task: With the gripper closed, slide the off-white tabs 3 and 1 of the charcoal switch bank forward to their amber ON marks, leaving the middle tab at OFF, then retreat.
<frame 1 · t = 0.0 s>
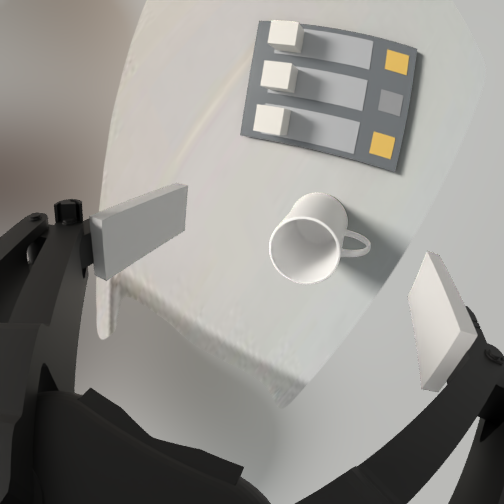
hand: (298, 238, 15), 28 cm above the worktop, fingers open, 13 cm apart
tab 3: (272, 119, 36), point 3 cm above the worktop, slide at 0.0 cm
switch bank: (328, 88, 35), on the worktop
mug: (329, 223, 43), on the worktop
tab 2: (280, 77, 34), point 3 cm above the worktop, slide at 0.0 cm
tab 1: (286, 36, 31), point 3 cm above the worktop, slide at 0.0 cm
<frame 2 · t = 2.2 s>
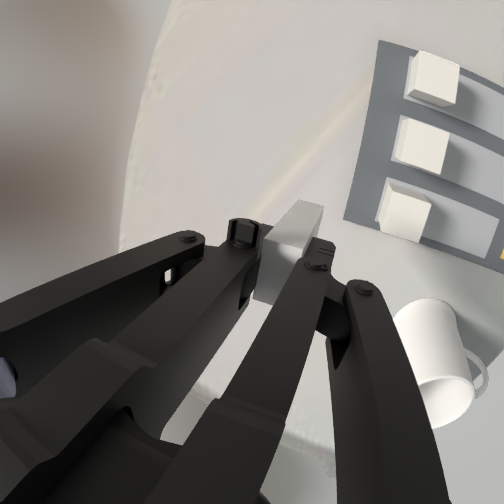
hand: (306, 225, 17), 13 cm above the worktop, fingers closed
tab 3: (403, 211, 23), point 3 cm above the worktop, slide at 0.0 cm
switch bank: (467, 164, 22), on the worktop
mug: (434, 330, 30), on the worktop
tab 2: (420, 145, 21), point 3 cm above the worktop, slide at 0.0 cm
tab 1: (432, 80, 18), point 3 cm above the worktop, slide at 0.0 cm
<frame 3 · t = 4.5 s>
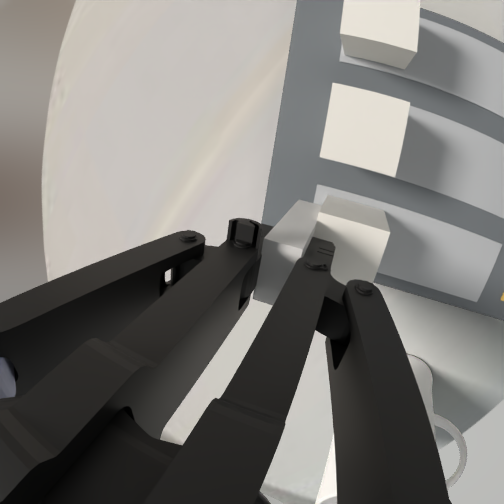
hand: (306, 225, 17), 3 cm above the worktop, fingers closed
tab 3: (347, 241, 16), point 3 cm above the worktop, slide at 0.5 cm, touching gripper
switch bank: (452, 159, 15), on the worktop
mug: (402, 388, 22), on the worktop
tab 2: (364, 129, 13), point 3 cm above the worktop, slide at 0.0 cm
tab 1: (379, 24, 11), point 3 cm above the worktop, slide at 0.0 cm
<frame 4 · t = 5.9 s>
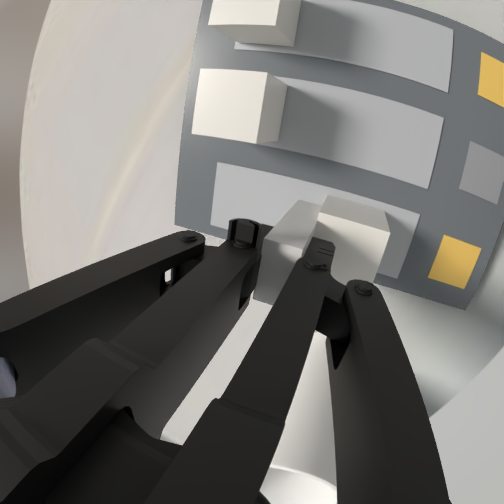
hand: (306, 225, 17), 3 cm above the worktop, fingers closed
tab 3: (347, 241, 16), point 3 cm above the worktop, slide at 7.0 cm, touching gripper
switch bank: (355, 128, 16), on the worktop
mug: (335, 372, 24), on the worktop
tab 2: (242, 106, 15), point 3 cm above the worktop, slide at 0.0 cm
tab 1: (258, 8, 12), point 3 cm above the worktop, slide at 0.0 cm
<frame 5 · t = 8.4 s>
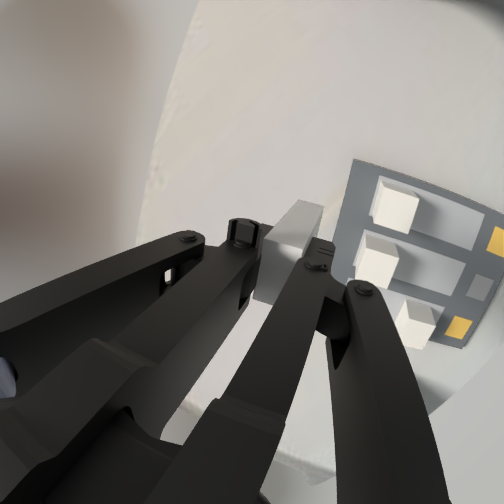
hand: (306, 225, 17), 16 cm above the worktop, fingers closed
tab 3: (414, 324, 30), point 3 cm above the worktop, slide at 7.2 cm
switch bank: (421, 263, 30), on the worktop
tab 2: (376, 260, 29), point 3 cm above the worktop, slide at 0.0 cm
tab 1: (394, 205, 26), point 3 cm above the worktop, slide at 0.0 cm
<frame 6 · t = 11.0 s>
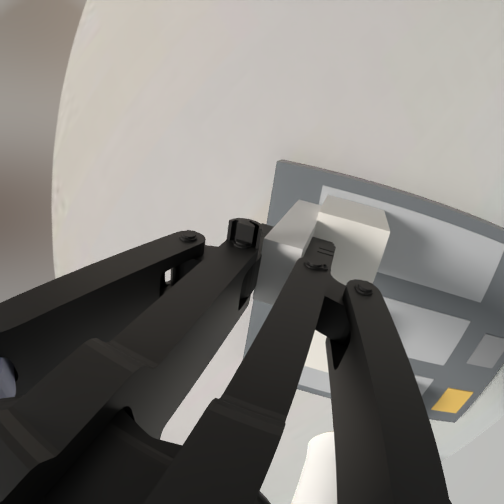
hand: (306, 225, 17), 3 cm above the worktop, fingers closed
switch bank: (400, 320, 20), on the worktop
mug: (356, 450, 27), on the worktop
tab 2: (318, 326, 18), point 3 cm above the worktop, slide at 0.0 cm
tab 1: (347, 241, 16), point 3 cm above the worktop, slide at 0.2 cm, touching gripper
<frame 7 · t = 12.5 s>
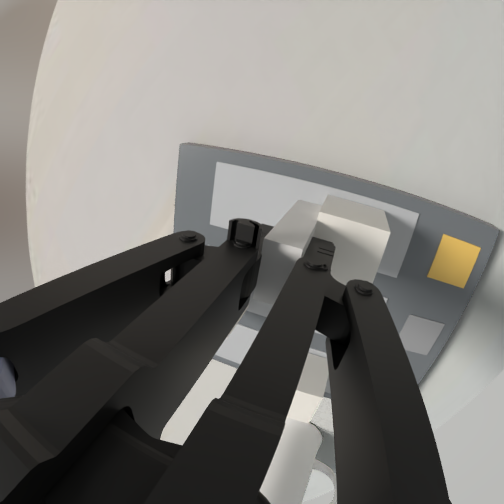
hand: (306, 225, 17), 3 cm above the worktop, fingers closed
tab 3: (298, 385, 21), point 3 cm above the worktop, slide at 7.2 cm
switch bank: (312, 295, 22), on the worktop
mug: (299, 436, 29), on the worktop
tab 2: (217, 293, 20), point 3 cm above the worktop, slide at 0.0 cm
tab 1: (347, 241, 16), point 3 cm above the worktop, slide at 7.1 cm, touching gripper
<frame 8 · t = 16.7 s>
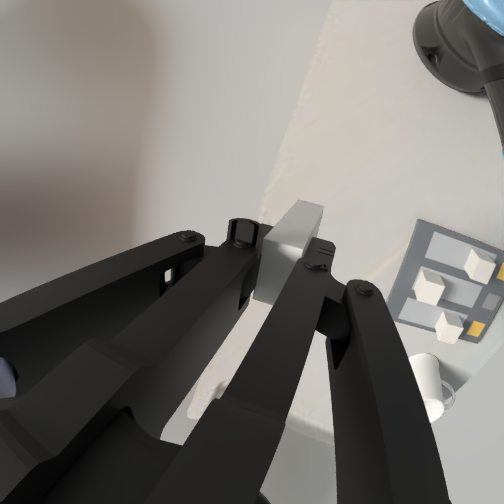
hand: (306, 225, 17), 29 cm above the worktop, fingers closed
tab 3: (448, 327, 42), point 3 cm above the worktop, slide at 7.2 cm
switch bank: (454, 286, 42), on the worktop
mug: (425, 369, 50), on the worktop
tab 2: (429, 287, 41), point 3 cm above the worktop, slide at 0.0 cm
tab 1: (479, 266, 36), point 3 cm above the worktop, slide at 7.2 cm
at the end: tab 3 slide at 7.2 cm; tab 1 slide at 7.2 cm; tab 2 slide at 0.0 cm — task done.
